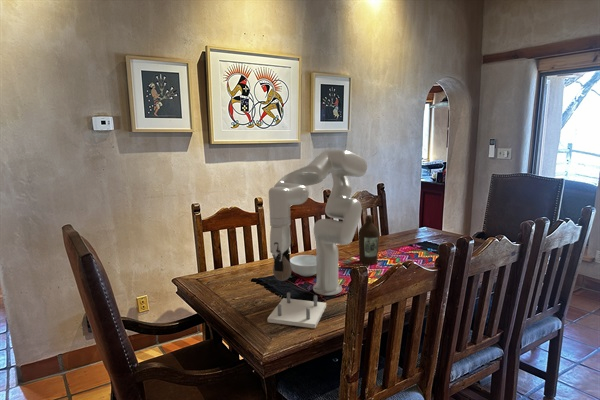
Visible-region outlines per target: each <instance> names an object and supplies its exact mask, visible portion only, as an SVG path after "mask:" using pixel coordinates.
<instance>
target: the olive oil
mask: <svg viewBox="0 0 600 400" xmlns="http://www.w3.org/2000/svg"><path fill="white" fill-rule="evenodd" d="M379 241H380V231H379V229H378V227H377V226H376V225H375V224H374V223H373V215H371V214H366V215H365V223H363V225H362V226H360V227H359V230H358V249H359V250H358V252H359V253H358V255H359V257H358V258H359V263H360V264H361V265H367V266H368V265H371V266H372V265H376V264H377V263H378V261H379V260H378V259H379V257H378V256H379V254H378V253H379Z"/></svg>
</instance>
